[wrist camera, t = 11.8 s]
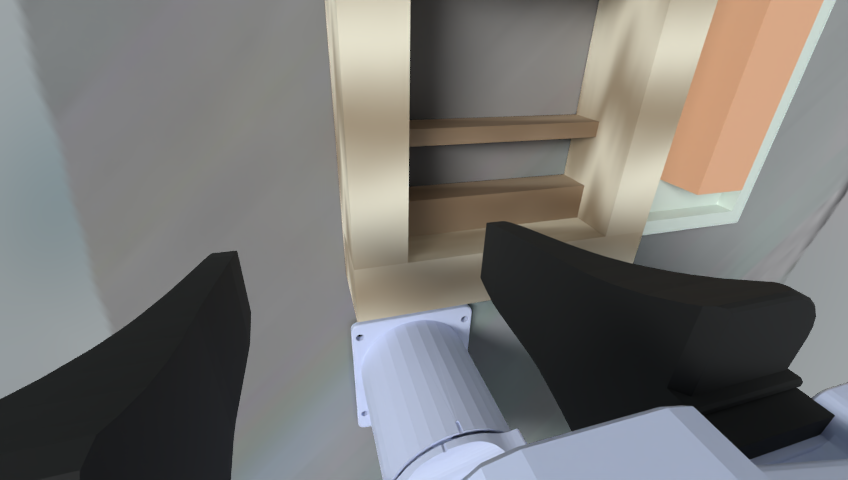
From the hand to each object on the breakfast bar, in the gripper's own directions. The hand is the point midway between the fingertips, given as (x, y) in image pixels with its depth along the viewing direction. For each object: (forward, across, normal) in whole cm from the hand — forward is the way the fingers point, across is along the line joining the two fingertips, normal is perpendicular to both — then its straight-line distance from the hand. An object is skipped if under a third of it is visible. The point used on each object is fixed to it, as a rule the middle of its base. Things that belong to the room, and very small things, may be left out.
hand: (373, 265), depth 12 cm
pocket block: (+10, -8, -2) cm, 13 cm away
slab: (+9, -22, -3) cm, 24 cm away
